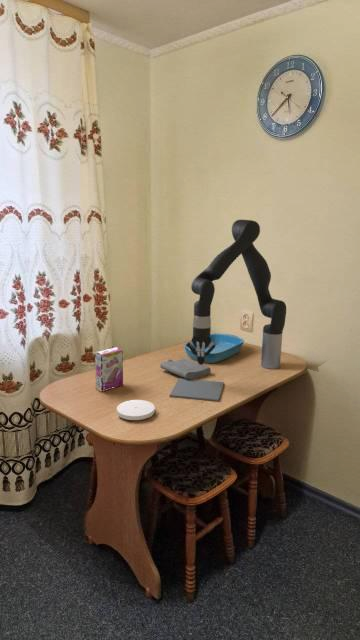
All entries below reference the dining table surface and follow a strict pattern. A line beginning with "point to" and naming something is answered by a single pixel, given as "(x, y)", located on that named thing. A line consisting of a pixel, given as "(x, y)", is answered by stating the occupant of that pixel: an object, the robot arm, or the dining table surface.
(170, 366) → the hip flask
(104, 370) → the candy bar box
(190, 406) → the dining table surface
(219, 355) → the casserole dish
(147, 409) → the plastic lid
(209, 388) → the mat
